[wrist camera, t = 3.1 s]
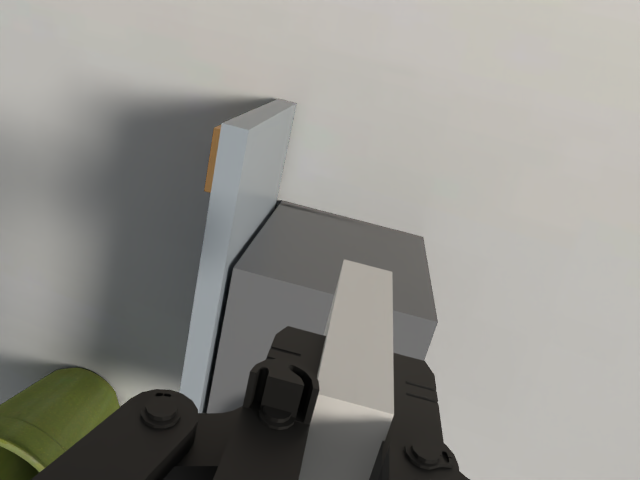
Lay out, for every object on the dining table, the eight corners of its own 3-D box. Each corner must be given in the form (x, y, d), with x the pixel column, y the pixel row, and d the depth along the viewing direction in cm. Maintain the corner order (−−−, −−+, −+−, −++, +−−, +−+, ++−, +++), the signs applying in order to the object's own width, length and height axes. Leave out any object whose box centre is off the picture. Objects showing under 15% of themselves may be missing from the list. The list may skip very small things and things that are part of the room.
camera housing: (423, 237, 36) (440, 339, 23) (370, 400, 41) (361, 558, 28) (282, 200, 36) (223, 281, 24) (247, 366, 41) (183, 507, 29)
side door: (298, 103, 33) (251, 130, 22) (240, 380, 41) (184, 503, 30) (269, 96, 33) (207, 119, 22) (217, 373, 41) (153, 494, 30)
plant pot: (153, 357, 42) (74, 459, 32) (144, 469, 46) (71, 592, 36) (14, 324, 43) (-109, 414, 32) (18, 438, 47) (-90, 550, 36)
